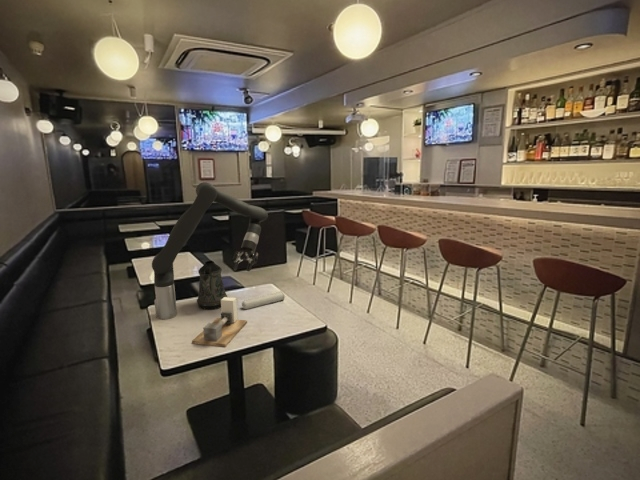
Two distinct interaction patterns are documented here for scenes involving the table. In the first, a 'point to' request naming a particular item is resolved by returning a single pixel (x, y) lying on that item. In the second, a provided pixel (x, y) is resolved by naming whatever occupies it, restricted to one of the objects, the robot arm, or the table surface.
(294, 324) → the table surface
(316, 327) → the table surface
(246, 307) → the tube
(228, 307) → the sleeve
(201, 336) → the pipe stand
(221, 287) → the beer stein
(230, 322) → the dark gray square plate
